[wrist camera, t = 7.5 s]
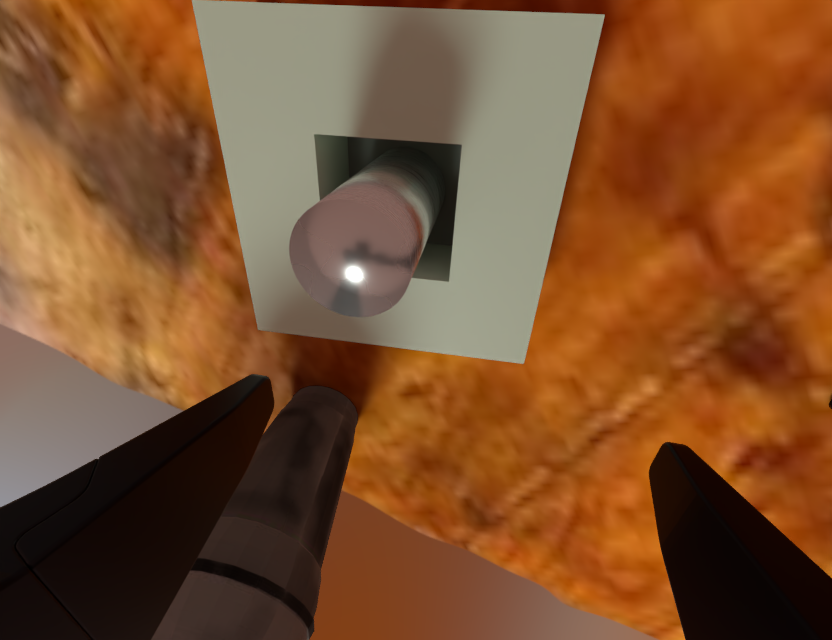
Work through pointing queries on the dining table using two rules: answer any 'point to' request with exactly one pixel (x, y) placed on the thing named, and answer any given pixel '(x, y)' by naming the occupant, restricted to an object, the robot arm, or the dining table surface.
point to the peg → (369, 234)
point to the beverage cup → (271, 531)
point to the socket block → (402, 127)
